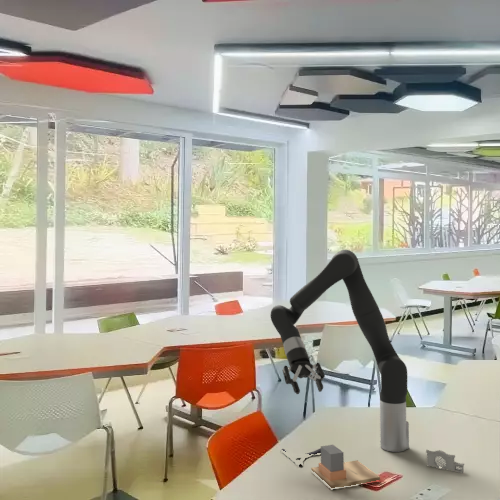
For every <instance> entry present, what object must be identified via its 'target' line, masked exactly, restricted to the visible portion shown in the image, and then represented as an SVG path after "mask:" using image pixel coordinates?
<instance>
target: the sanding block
mask: <svg viewBox="0 0 500 500" xmlns="http://www.w3.org/2000/svg"><path fill="white" fill-rule="evenodd" d="M320 448H321V455H320V462H319V463H318V467H319V471H320V472H321V473H322V474H323V475H324V476H325V477H326V478H327V479H329V480H330V481H332V480H338V479H344V478H346V470H345V469H344V461H345V459H344V457H345V456H344V451H342V450H341V449H340V448H338V446H336V445H334V444H328V445H322V446H320Z"/></svg>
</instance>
